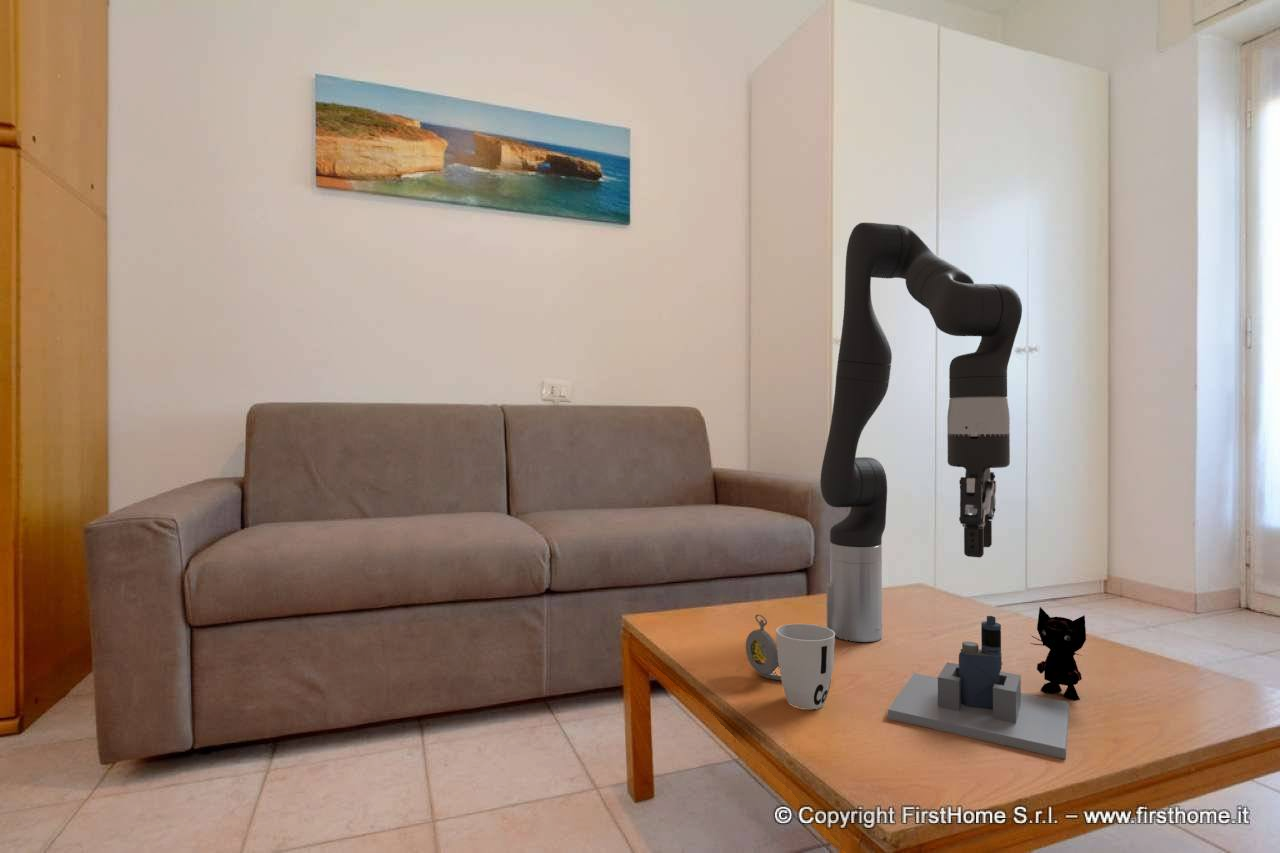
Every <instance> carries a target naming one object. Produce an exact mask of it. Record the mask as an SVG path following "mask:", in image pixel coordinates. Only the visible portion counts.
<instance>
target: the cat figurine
mask: <svg viewBox="0 0 1280 853" xmlns="http://www.w3.org/2000/svg"><path fill="white" fill-rule="evenodd" d="M1037 618H1038V619H1037V624H1036V626H1037V627H1036V630H1037V632H1038V635H1039V637H1040V638H1037V637H1035V636H1034V635H1031V637H1032V638H1033V639H1036V640H1037V641H1040V642H1042V643H1034V642H1033V643H1032V642H1030V643H1029V644H1031V645H1035V646H1044V647H1046V648H1047V649H1049V652H1048V654H1047V656H1046V658H1045V660H1042V661H1040V662H1038V663H1037V665H1036V670H1037V671H1038V673H1040V674H1041V675H1042V674H1043V673H1044V675H1043V676H1044V677H1043V678H1044V680H1045V681H1048V682H1046V683H1044V684H1043V685H1042V687H1040V692H1042V693H1044V694H1050V695H1051V694H1053V695H1054V694H1055V695H1056V694H1058V693H1061V692H1062V688H1061V685H1062V686H1065V687H1066V686H1067V687H1066V689H1065V690H1064V693H1063V695H1062V697H1064V699H1067V700H1070V701H1080V700H1081V698H1080V696H1079V695H1078V692H1077V690H1076V688H1075V685H1078V683H1079V681H1082V680H1083V678H1082V673H1081V671H1079V668H1078V665H1077V661H1076V660H1075V657H1074V656H1075V655H1077V656H1082V657H1083V655H1082V654H1079V653H1076V652H1078V651H1079V650H1081V649H1082V648H1083V647H1084V645H1085V643H1086V641H1087V631H1086V630H1087V629H1086V628H1087V627H1086V615H1081V616H1080V617H1078V618H1076V619H1074V620H1072V619H1071V618H1066V617H1062V616H1053V617H1051V616H1050V615H1049V614H1048V613H1047V612H1046V611H1045V610H1044V609H1043V608H1042V607H1041V606H1039V610H1038V617H1037Z"/></svg>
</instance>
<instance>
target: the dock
mask: <svg viewBox="0 0 1280 853" xmlns="http://www.w3.org/2000/svg"><path fill="white" fill-rule="evenodd" d="M1021 678H1022V677H1021V674H1018V673H1011V672H1006V671H1005V672H1004V671H1002V670H1001V671H1000V673H999V685H998V684H994V686H993V709H987V708H977V707H969V706H965V705H963V704H962V703H961V678H960V677H959V663H954V662H949V661H946V662H945V664H944V666H943V668H942V669H941V671H940V673H939V675H938V676H933V675H928V674H921V673H916V672H913V674H912V675H911V677H910V678H909V680H907V682H906V684H904V686H903V688H902V689H901V690H900V692H899V693H898V695H897V696H896V697H895V699H894V700H893V702H892V703H891V705H890V706H889V707H888V708H887V719H889V720H894V721H898V722H903V723H906V724H907V723H908V724H911V725H915V726H920V727H925V728H928V729H931V730H932V729H934V730H938V731H942V732H945V733H950V734H954V735H959V736H963V737H968V738H971V739H976V740H980V741H985V742H990V743H993V744H998V745H1002V746H1006V745H1007V746H1008V747H1010V748H1011V747H1012V748H1015V749H1019V750H1024V751H1029V752H1033V753H1037V754H1042V755H1047V756H1050V757H1055V758H1058V759H1059V758H1060V759H1063V760H1066V757H1067V756H1066V755H1067V745H1068V744H1067V743H1068V742H1067V741H1068V729H1069V720H1070V719H1069V718H1070V717H1069V716H1070V702H1068V701H1064V700H1059V699H1054V698H1048V697H1045V696H1044V697H1043V696H1037V695H1032V694H1026V693H1022V692H1021V691H1022V686H1021V685H1022V683H1021V682H1022V681H1021V680H1022V679H1021ZM1007 746H1006V747H1007Z"/></svg>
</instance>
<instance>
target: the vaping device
mask: <svg viewBox="0 0 1280 853" xmlns="http://www.w3.org/2000/svg"><path fill="white" fill-rule="evenodd" d="M980 625H981V629H980V630H981V632H980V633H981V649H979V648H980V647H979V644H978V643H976V642H974V641H962V643H961V644H962V645H961V646H962V647H961V649H960V651H959V655H958V664H959V677H960V678H961V703H962V704H963V705H965V706H969V707H977V708H987V709H993V686H994V684H998V685H999V673H1000V671H1001V672H1002V666H1003V662H1002V661H1003V660H1002V659H1003V658H1002V655H1003V654H1002V624H1000V623H999V622H997V621H996V617H995V615H987V616H986V621H982V622H981V624H980Z"/></svg>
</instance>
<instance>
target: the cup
mask: <svg viewBox="0 0 1280 853" xmlns="http://www.w3.org/2000/svg"><path fill="white" fill-rule="evenodd" d="M775 635H776V647H777V652H778V662H779V668H780V674H781V680H780V681H781V685H782V687H783V692H784V694H785V697H786V700H787V703H788V702H789V703H790V704H792V705H793V706H797V707H799V708H805V709H816V710H818V709H817V708H820V709H822V708H823V707H825V704H826V700H827V697H828V696H829V692H830V688H831V683H832V675H833V670H834V669H833V668H834V662H835V646H836V644H835V642H836V641H835V640H836V637H835V632H834V631H832V630H831V629H829V628H827V626H826V627H825V626H821V625H817V624H810V623H789V624H783V625H780V626H778V627H776V629H775ZM789 703H788V704H789ZM790 704H789V705H790ZM793 706H792V707H793ZM821 707H822V708H821ZM799 708H798V709H799Z"/></svg>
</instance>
